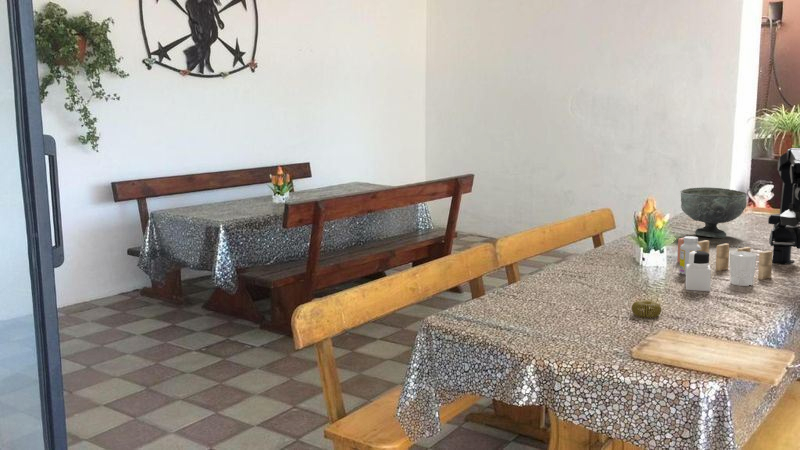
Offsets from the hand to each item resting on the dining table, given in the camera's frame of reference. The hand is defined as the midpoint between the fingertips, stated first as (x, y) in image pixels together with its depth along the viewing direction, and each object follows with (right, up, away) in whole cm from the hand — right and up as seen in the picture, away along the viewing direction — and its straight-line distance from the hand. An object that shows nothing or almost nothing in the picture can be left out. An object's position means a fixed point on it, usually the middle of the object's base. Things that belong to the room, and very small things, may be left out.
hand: (798, 248), depth 238 cm
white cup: (-17, -12, +4) cm, 21 cm away
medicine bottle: (-33, -13, 0) cm, 35 cm away
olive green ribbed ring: (-59, -18, -28) cm, 68 cm away
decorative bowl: (+8, +3, +87) cm, 87 cm away
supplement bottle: (-28, -10, +19) cm, 35 cm away
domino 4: (-10, -9, +18) cm, 22 cm away
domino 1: (-23, -6, +38) cm, 44 cm away
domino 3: (-14, -8, +24) cm, 29 cm away
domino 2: (-19, -7, +31) cm, 37 cm away
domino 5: (-6, -10, +11) cm, 16 cm away
